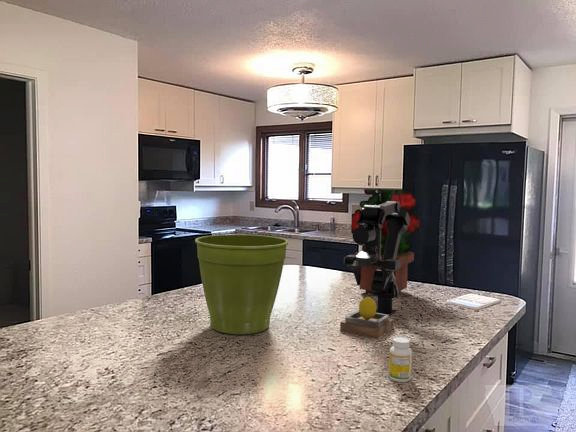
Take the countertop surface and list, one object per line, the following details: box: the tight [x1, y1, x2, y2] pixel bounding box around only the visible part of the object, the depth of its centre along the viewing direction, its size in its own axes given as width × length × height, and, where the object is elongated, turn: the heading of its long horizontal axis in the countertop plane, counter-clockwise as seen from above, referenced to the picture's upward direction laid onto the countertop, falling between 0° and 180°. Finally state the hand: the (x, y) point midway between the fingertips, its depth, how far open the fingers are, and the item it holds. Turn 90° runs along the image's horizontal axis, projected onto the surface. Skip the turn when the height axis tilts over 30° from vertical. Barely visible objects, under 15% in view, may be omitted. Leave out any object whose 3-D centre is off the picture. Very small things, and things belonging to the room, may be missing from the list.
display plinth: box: [339, 309, 394, 340], centre depth 157 cm, size 13×13×4 cm
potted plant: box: [350, 188, 420, 295], centre depth 208 cm, size 22×22×45 cm
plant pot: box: [194, 234, 289, 335], centre depth 156 cm, size 30×30×29 cm
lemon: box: [358, 295, 377, 320], centre depth 156 cm, size 6×6×8 cm
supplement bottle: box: [388, 337, 413, 383], centre depth 118 cm, size 5×5×10 cm
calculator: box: [446, 293, 500, 310], centre depth 196 cm, size 13×20×2 cm, turn 132°
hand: (370, 287), depth 166 cm, fingers open, 9 cm apart
